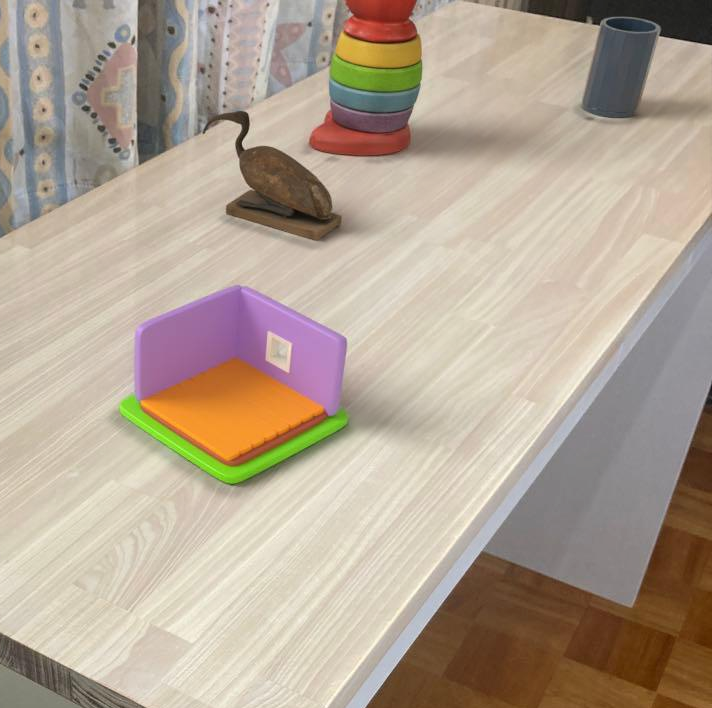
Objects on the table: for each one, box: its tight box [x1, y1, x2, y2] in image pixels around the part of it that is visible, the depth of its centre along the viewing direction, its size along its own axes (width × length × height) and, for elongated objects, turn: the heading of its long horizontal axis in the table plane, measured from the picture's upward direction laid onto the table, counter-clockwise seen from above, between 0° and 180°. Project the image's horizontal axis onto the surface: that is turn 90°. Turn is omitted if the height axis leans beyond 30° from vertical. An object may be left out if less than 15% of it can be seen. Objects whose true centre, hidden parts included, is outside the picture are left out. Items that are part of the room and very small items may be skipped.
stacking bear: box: [308, 0, 423, 156], centre depth 115 cm, size 11×10×18 cm
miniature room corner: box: [119, 284, 349, 485], centre depth 77 cm, size 12×12×7 cm
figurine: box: [202, 110, 343, 241], centre depth 103 cm, size 14×4×9 cm, turn 56°
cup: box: [580, 16, 662, 119], centre depth 127 cm, size 6×6×9 cm
